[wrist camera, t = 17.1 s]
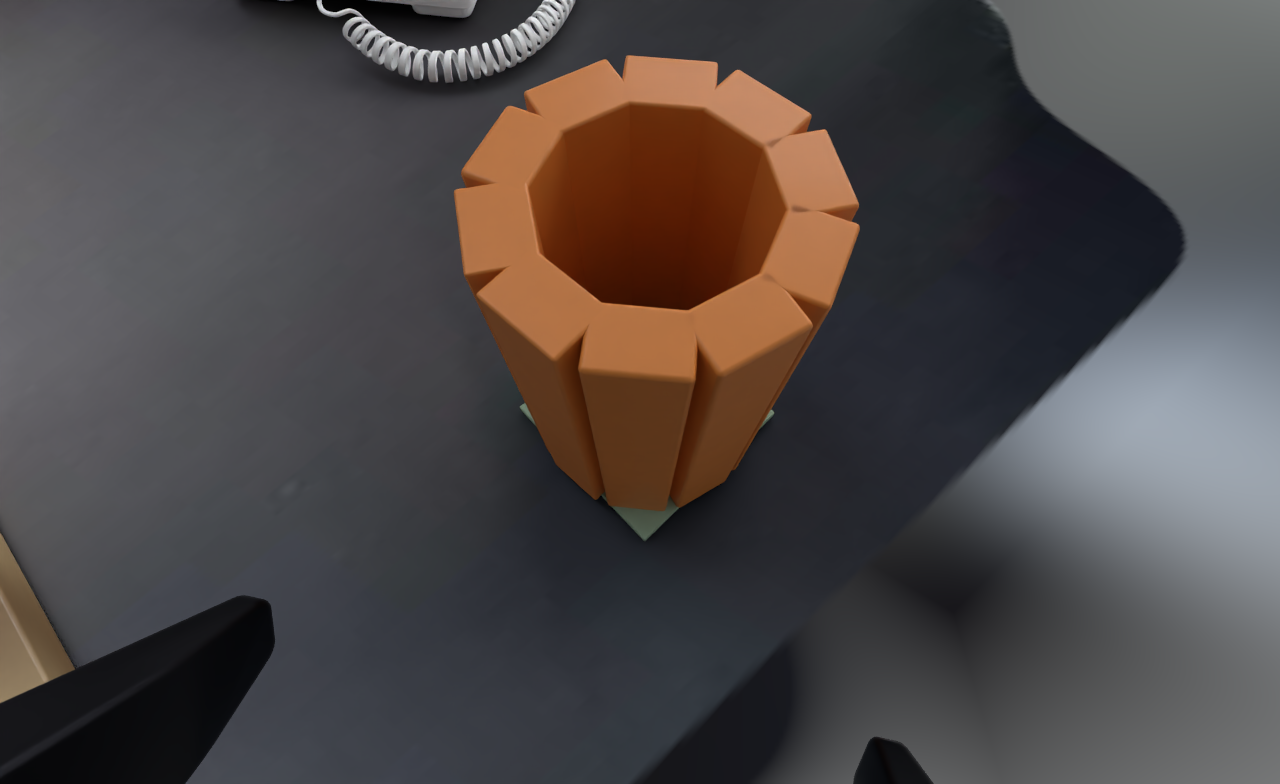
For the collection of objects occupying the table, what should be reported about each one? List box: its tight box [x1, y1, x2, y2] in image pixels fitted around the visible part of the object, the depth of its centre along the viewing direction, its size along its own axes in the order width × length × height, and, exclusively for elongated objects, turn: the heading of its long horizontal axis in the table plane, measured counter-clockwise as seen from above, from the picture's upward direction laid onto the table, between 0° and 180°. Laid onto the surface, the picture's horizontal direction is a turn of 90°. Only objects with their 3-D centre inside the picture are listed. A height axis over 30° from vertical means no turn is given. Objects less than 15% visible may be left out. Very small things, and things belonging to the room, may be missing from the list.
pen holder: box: [454, 56, 860, 511], centre depth 14 cm, size 6×7×10 cm
